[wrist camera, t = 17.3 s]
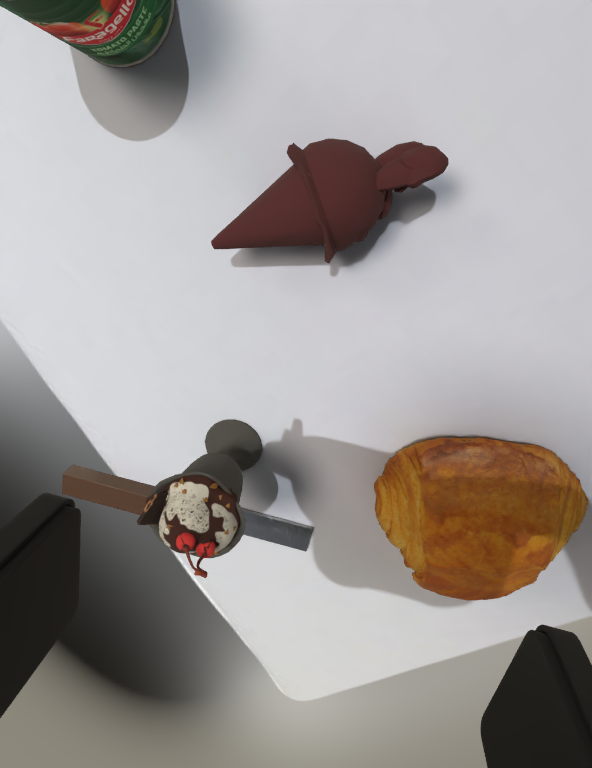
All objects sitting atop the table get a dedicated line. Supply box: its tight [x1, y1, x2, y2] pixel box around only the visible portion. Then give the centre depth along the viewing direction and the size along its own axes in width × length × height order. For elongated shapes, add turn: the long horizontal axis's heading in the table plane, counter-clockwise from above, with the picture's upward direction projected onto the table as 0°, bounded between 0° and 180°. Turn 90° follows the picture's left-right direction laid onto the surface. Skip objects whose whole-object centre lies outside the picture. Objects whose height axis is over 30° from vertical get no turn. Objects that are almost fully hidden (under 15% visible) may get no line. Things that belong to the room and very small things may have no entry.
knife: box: [62, 465, 313, 551], centre depth 42 cm, size 23×3×2 cm, turn 78°
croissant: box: [374, 437, 588, 600], centre depth 36 cm, size 14×16×8 cm
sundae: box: [137, 420, 262, 578], centre depth 33 cm, size 7×7×15 cm
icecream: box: [211, 139, 448, 263], centre depth 29 cm, size 7×7×15 cm
